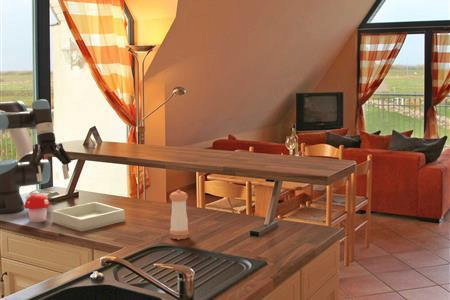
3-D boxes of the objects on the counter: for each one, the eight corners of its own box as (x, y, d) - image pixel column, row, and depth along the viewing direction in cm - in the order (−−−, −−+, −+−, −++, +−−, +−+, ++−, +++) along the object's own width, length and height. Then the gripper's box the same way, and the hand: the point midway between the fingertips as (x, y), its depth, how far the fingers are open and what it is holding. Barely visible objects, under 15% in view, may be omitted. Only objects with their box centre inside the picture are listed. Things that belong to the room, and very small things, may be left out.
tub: (52, 222, 252) (52, 210, 251) (95, 212, 268) (94, 201, 267) (81, 231, 237) (80, 219, 236) (124, 220, 253) (124, 209, 252)
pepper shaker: (181, 241, 222) (180, 192, 220) (166, 238, 226) (165, 190, 223) (192, 236, 228) (191, 189, 226) (177, 234, 232) (176, 187, 229)
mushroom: (54, 217, 259) (53, 191, 257) (44, 224, 248) (43, 196, 247) (31, 217, 260) (30, 191, 258) (20, 223, 249) (19, 196, 248)
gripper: (24, 131, 248) (32, 180, 246) (73, 131, 268) (81, 176, 265) (15, 136, 253) (23, 183, 250) (64, 135, 272) (72, 179, 269)
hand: (53, 179), depth 257 cm, fingers open, 13 cm apart
